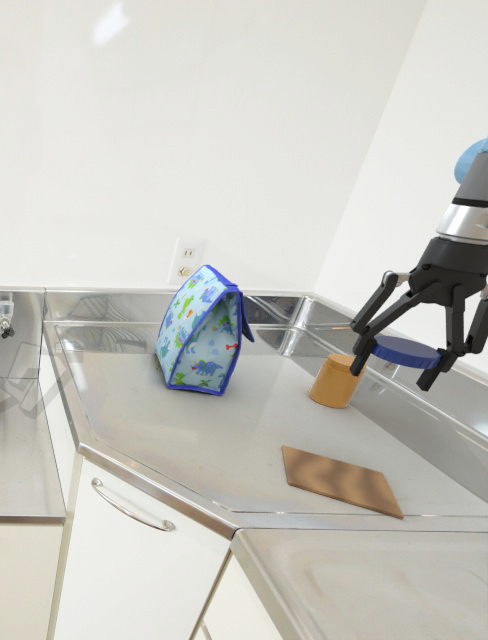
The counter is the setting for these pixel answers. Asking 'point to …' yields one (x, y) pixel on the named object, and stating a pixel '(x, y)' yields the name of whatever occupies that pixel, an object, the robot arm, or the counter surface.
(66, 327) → the counter surface
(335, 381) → the jam jar
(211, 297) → the lunch bag
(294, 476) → the wooden cutting board
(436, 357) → the jar lid
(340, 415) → the counter surface
